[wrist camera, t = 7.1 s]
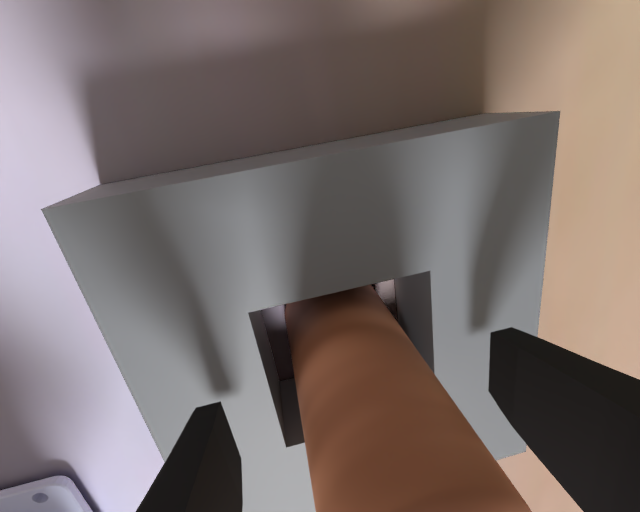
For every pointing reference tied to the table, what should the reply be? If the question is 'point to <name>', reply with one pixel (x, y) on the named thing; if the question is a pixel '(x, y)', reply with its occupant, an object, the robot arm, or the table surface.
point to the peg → (383, 417)
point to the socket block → (315, 272)
